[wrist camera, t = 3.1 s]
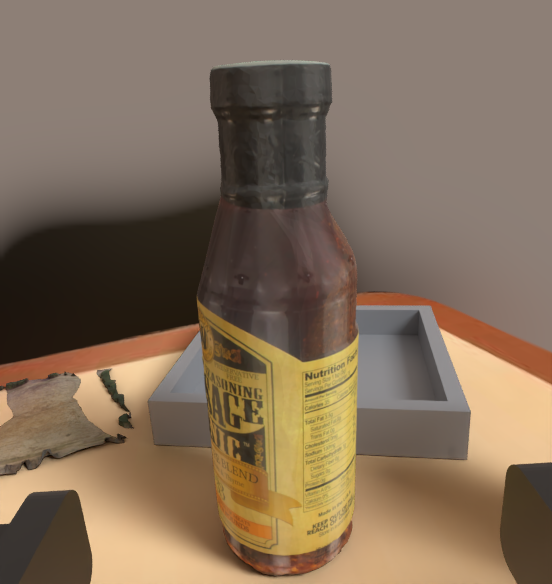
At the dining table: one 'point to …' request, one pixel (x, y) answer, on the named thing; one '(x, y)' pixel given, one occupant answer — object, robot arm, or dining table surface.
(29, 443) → the parchment
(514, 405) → the dining table surface
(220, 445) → the sauce bottle
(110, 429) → the dining table surface
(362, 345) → the tray
